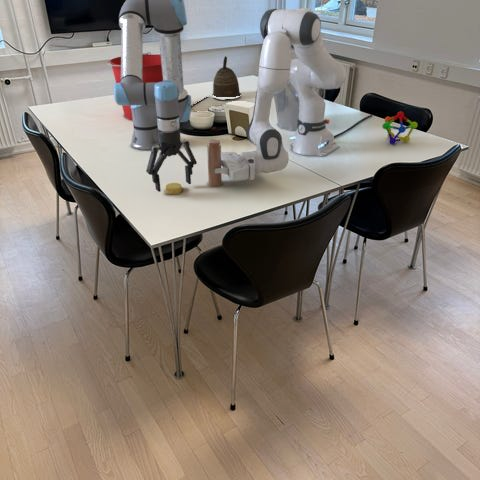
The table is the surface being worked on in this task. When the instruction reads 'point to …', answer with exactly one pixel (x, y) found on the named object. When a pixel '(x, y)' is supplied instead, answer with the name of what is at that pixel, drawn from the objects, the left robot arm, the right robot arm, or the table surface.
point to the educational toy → (398, 128)
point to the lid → (173, 188)
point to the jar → (214, 162)
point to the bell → (225, 82)
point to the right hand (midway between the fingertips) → (212, 167)
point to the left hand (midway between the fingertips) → (173, 186)
